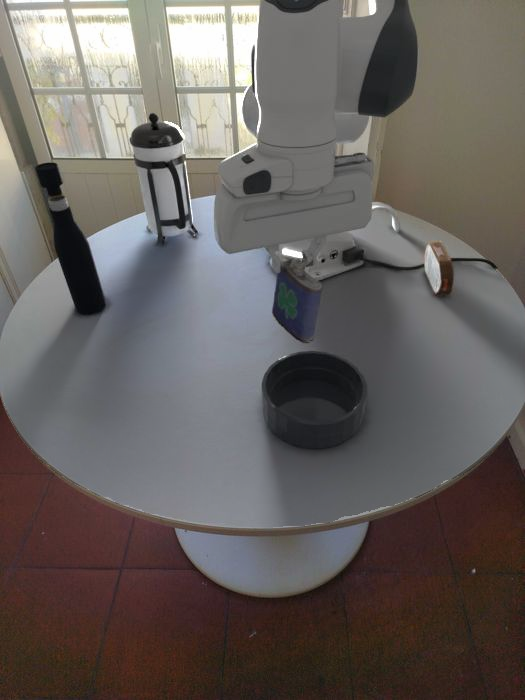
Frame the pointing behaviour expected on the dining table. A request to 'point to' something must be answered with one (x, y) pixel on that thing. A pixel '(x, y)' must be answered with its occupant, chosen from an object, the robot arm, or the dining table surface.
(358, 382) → the black screw cap
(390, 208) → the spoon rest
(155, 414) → the dining table surface
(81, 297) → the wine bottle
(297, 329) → the flask
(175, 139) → the coffee press
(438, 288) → the tin
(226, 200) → the robot arm
